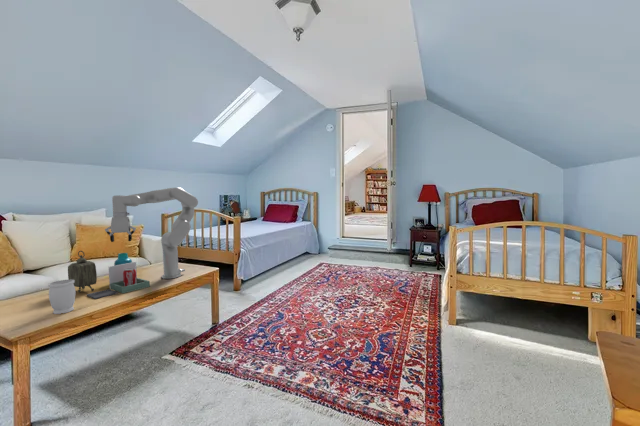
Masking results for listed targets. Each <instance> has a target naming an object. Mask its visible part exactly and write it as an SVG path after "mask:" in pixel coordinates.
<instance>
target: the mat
mask: <svg viewBox="0 0 640 426" xmlns="http://www.w3.org/2000/svg"><path fill="white" fill-rule="evenodd" d="M118 294H119V292H117V291H114V290H111V289H110V288H108V289H104V290H100V291H95V292H94V291H93V292H91V293H87V294H86V295H85V296H87V297H88V298H91V299H94V300H98V299H102V298H106V297H110V296H111V297H112V296H113V295H118Z"/></svg>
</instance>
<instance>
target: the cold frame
mask: <svg viewBox="0 0 640 426" xmlns="http://www.w3.org/2000/svg"><path fill="white" fill-rule="evenodd" d="M127 268H135V271H136V281H137V284H134V285H129V286H125V287H124V284H123V272H124V269H127ZM108 279H109V281H108V282H109V289H111V290H113V291H116V292H118V293H121V294H125V293H129V292H133V291H137V290H142V289H146V288H149V287H151V284H150V280H147V279H144V278H139V277H138V274H137V261H132V263H126V264H121V265H116V266H114V265H112V266H108Z"/></svg>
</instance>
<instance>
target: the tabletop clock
mask: <svg viewBox="0 0 640 426" xmlns="http://www.w3.org/2000/svg"><path fill="white" fill-rule="evenodd" d="M80 253H82V254H80ZM77 255H78V257H79V258H78V259H77V260H76V262H72V263H71V264H69V265H68V266H67V278H68V279H67V280H75V282H74V283H73V284H74V286H75V288H78V289H77V292H78V293H81V292H82V290H81V289H84V290H85V288H86V287H88V288H90V291H91V292H94V291H95V288H94V287H91V286H92V285H96V284H97V280H98V278H97V277H98V276H97V265H96V263H95V262H94V261H91V260H87V258H85V257H86V256H85V252H84V251H83V250H78V252H77Z"/></svg>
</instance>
